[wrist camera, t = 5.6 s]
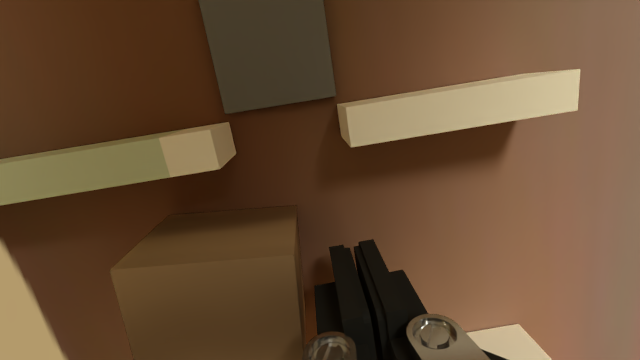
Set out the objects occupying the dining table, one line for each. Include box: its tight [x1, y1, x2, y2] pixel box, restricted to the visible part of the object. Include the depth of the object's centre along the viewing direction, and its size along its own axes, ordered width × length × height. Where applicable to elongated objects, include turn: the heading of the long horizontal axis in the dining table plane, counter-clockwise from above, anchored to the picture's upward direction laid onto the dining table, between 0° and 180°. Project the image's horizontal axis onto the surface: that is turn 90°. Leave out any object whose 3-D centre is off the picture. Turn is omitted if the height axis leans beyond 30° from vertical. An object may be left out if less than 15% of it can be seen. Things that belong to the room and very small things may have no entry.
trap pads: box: [199, 0, 336, 114], centre depth 13 cm, size 21×4×1 cm, turn 9°
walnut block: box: [110, 205, 306, 360], centre depth 11 cm, size 5×5×4 cm
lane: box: [0, 69, 580, 360], centre depth 12 cm, size 12×25×2 cm, turn 99°
